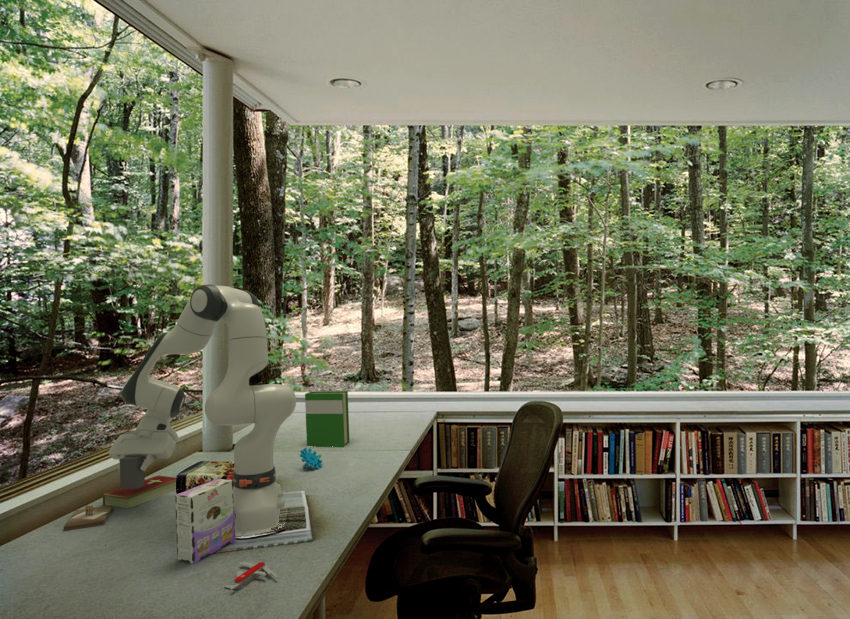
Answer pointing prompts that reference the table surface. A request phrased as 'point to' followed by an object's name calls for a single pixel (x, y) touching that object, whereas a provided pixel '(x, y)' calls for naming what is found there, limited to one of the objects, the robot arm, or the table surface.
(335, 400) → the hardback book
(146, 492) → the hardcover book
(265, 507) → the robot arm
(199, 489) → the candy box
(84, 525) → the board
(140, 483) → the block
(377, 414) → the table surface
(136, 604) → the table surface
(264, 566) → the swiss army knife
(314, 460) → the gear
